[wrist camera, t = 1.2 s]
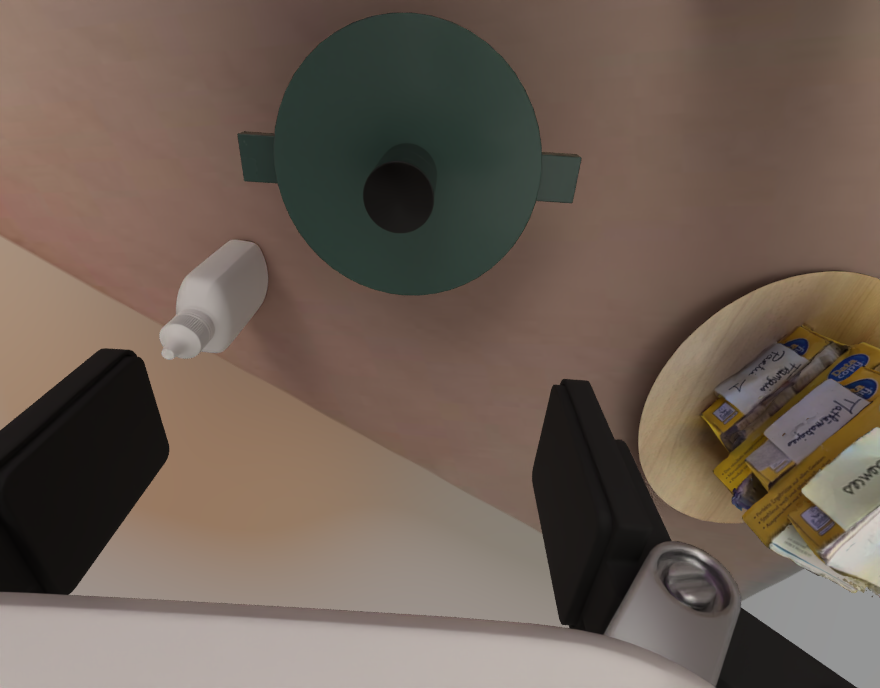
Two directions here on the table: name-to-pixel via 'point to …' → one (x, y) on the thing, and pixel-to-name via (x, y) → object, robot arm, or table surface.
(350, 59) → the lid
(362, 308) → the table surface
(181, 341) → the eye dropper bottle
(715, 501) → the boxes on wooden plate
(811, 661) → the robot arm
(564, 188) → the pot
